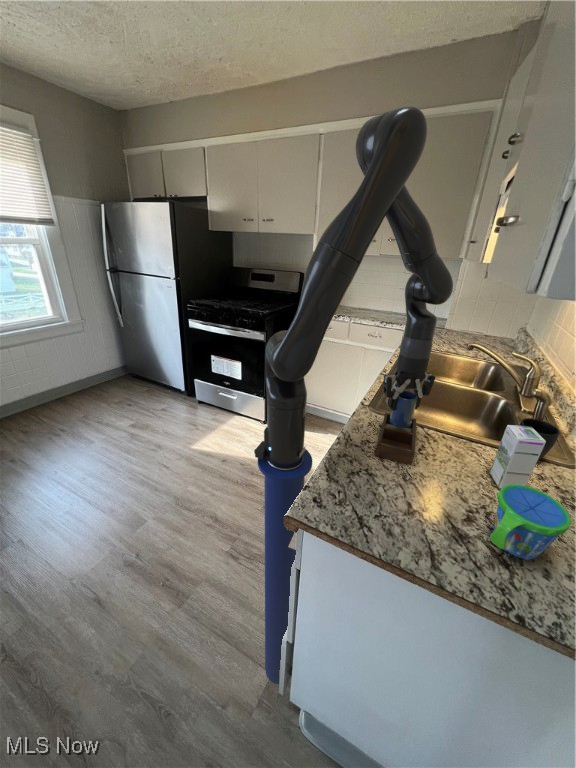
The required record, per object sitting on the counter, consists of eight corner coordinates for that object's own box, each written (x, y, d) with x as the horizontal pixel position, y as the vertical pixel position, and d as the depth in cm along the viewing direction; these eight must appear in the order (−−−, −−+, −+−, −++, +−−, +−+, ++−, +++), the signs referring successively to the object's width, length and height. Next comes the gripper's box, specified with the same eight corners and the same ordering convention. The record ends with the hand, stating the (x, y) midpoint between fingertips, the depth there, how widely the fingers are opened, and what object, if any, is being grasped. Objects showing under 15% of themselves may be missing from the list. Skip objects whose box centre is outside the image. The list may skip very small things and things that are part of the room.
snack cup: (510, 582, 53) (532, 541, 49) (461, 531, 62) (476, 493, 58) (571, 556, 58) (596, 516, 54) (517, 512, 67) (535, 476, 63)
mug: (489, 443, 90) (500, 415, 86) (534, 448, 89) (547, 419, 85) (503, 462, 83) (515, 432, 79) (552, 467, 81) (567, 437, 77)
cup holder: (375, 456, 83) (377, 443, 82) (382, 423, 98) (385, 412, 96) (411, 465, 80) (414, 452, 79) (413, 430, 95) (416, 418, 93)
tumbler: (388, 425, 89) (393, 397, 85) (390, 415, 94) (395, 388, 90) (410, 430, 87) (417, 401, 83) (411, 419, 92) (417, 392, 88)
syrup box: (524, 492, 73) (548, 441, 67) (497, 488, 74) (518, 437, 67) (512, 475, 78) (534, 426, 72) (487, 472, 79) (506, 423, 72)
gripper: (432, 347, 86) (419, 401, 93) (382, 348, 84) (373, 403, 91) (448, 357, 79) (433, 414, 86) (395, 358, 77) (384, 416, 85)
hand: (403, 408), depth 89 cm, fingers closed on tumbler, 6 cm apart
